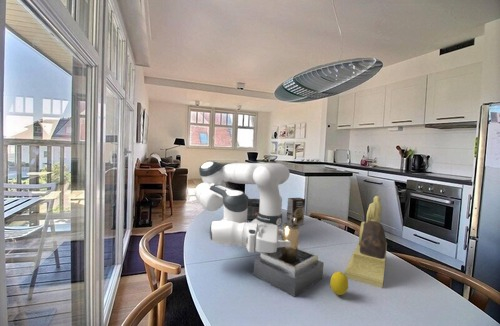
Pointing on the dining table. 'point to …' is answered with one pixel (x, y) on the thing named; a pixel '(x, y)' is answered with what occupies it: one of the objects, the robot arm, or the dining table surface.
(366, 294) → the dining table surface
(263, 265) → the housing
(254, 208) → the bundt pan
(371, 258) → the decorative clock
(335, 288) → the lemon
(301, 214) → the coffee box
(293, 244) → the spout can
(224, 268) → the dining table surface
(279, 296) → the dining table surface
